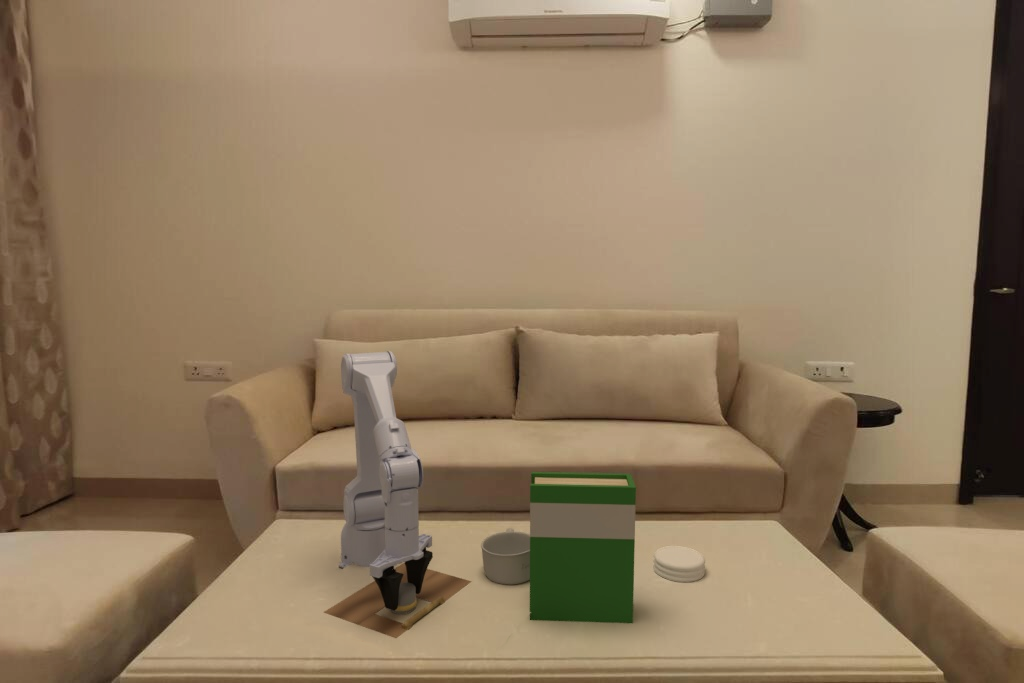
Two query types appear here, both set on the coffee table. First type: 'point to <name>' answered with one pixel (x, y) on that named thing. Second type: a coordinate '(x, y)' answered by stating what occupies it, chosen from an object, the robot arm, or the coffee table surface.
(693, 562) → the stack of white coasters
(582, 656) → the coffee table surface
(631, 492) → the hardback book
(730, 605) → the coffee table surface
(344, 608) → the shelf board
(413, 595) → the gold-banded grey cylinder
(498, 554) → the teacup
